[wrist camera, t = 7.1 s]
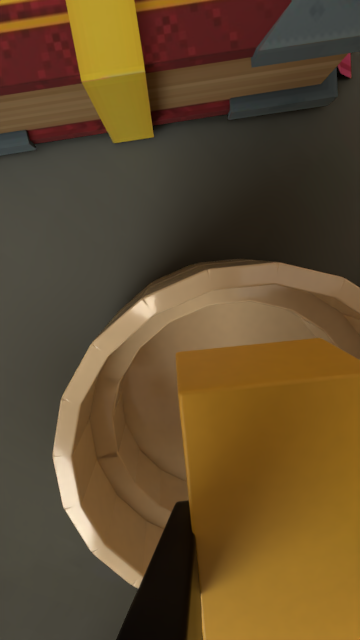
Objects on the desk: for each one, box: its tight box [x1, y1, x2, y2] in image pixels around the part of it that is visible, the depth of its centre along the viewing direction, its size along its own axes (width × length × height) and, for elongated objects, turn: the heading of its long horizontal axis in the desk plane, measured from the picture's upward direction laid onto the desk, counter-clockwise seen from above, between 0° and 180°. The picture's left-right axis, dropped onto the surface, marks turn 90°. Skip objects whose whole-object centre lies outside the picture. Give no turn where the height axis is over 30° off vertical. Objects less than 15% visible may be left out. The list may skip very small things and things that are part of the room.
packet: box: [176, 338, 360, 640], centre depth 8 cm, size 8×4×2 cm, turn 5°
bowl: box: [53, 259, 360, 588], centre depth 12 cm, size 12×12×5 cm
